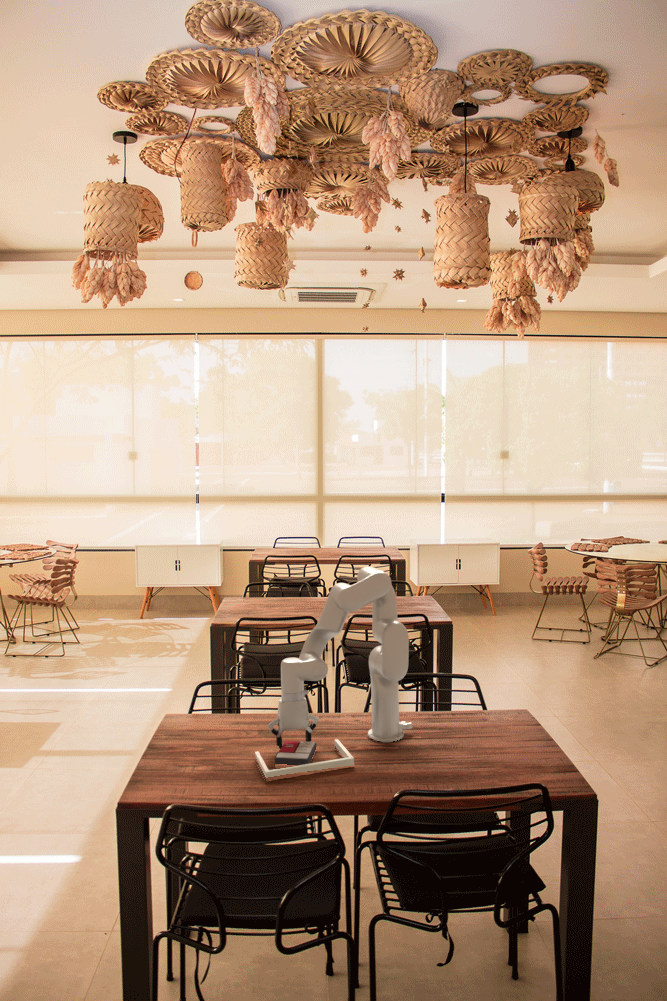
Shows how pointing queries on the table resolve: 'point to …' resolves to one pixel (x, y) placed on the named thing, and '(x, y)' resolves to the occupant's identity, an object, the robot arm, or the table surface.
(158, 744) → the table surface
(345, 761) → the slot
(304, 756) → the calculator
